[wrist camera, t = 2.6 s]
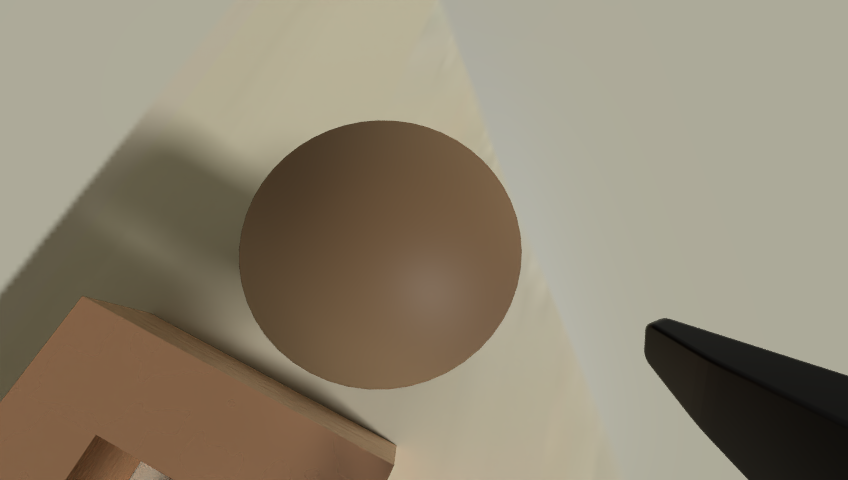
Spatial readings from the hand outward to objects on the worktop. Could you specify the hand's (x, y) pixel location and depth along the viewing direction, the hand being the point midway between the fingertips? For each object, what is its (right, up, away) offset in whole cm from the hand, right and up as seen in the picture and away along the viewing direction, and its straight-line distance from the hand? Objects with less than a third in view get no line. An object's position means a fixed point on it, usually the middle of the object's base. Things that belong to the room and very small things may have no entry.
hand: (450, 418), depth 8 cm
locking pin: (-2, -1, +10) cm, 10 cm away
